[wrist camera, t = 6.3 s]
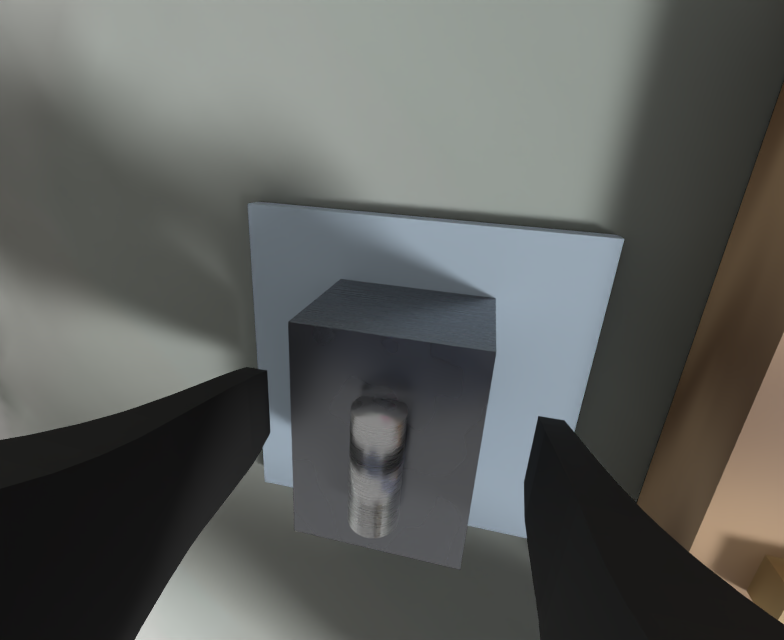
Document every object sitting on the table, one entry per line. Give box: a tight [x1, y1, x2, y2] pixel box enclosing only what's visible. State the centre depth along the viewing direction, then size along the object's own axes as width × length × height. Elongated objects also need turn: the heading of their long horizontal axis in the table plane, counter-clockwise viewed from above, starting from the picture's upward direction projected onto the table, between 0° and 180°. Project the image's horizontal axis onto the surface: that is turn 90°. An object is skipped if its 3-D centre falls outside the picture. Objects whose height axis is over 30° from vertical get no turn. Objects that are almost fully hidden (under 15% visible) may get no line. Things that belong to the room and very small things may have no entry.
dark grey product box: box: [288, 279, 496, 569], centre depth 11 cm, size 6×4×4 cm
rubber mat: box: [248, 202, 624, 538], centre depth 14 cm, size 10×10×1 cm
